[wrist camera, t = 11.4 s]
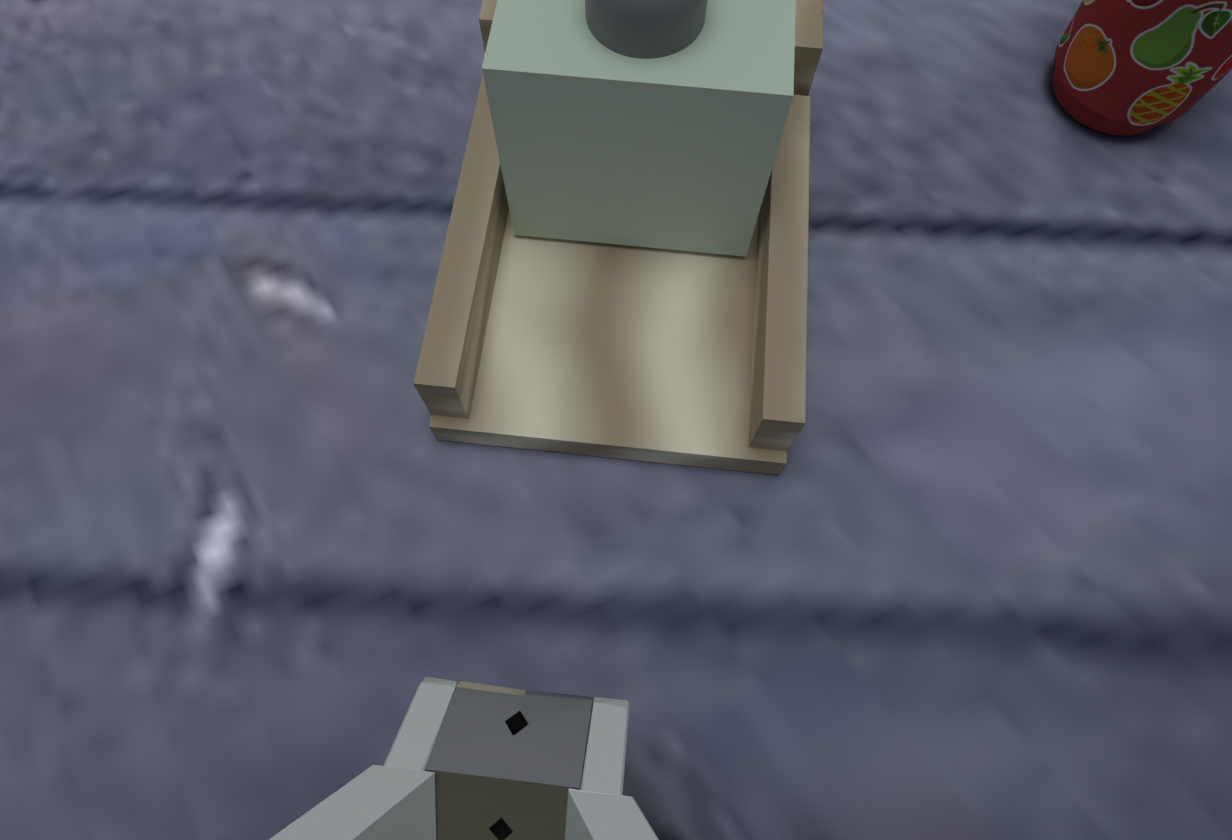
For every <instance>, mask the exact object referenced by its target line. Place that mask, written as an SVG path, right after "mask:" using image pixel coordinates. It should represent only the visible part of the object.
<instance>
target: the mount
mask: <svg viewBox="0 0 1232 840" xmlns="http://www.w3.org/2000/svg"><path fill="white" fill-rule="evenodd" d="M496 3H497V0H483V3H482V7H481V12H480V16H479V23H480V28H481V34H482V39H483V45H484V50H485V52H486V48H487V43H488V39H489V34H490V30H491V26H492V21H493V17H494V12H495V8H496ZM822 49H823V0H796V17H795V55H794V93H793V99H792V102H791V106H790V109H789V113H788V116H787V119H786V123H785V126H784V129H783V133H782V136H781V140H780V143H779V146H778V150H777V153H776V157H775V160H774V163H773V167H772V170H771V174H770V177H769V180H768V184H767V187H766V191H765V194H764V197H763V201H762V204H761V208H760V211H759V214H758V218H757V221H756V225H755V228H754V231H753V235H752V238H751V241H750V245H749V248H748V252H747V255H746V257H745V256H734V255H723V254H713V253H702V252H692V251H681V250H671V249H660V248H650V247H639V246H628V245H618V244H607V243H597V242H586V241H576V240H565V239H554V238H544V237H533V236H523V235H514V231H513V226H512V221H511V216H510V211H509V205H508V200H507V195H506V190H505V185H504V180H503V175H502V169H501V164H500V159H499V154H498V149H497V144H496V139H495V133H494V128H493V123H492V118H491V113H490V108H489V102H488V97H487V92H486V87H485V82H484V77H483V75H482V79H481V84H480V88H479V93H478V97H477V101H476V106H475V110H474V115H473V119H472V124H471V128H470V133H469V137H468V142H467V146H466V151H465V155H464V160H463V164H462V168H461V173H460V177H459V182H458V186H457V191H456V195H455V200H454V204H453V209H452V213H451V218H450V222H449V227H448V231H447V235H446V240H445V244H444V249H443V253H442V258H441V262H440V267H439V271H438V276H437V280H436V285H435V289H434V293H433V298H432V302H431V307H430V311H429V316H428V320H427V325H426V329H425V334H424V338H423V343H422V347H421V352H420V356H419V360H418V365H417V369H416V374H415V378H414V383H413V384H414V385H415V387H416V389H417V391H418V392H419V394H420V396H421V398H422V399H423V401H424V403H425V405H426V406H427V408H428V410H429V411H430V413H431V419H430V424H429V427H430V429H431V431H432V432H433V434H434V436H435V437H436V439H437V440H444V441H454V442H463V443H473V444H483V445H492V446H502V447H512V448H521V449H531V450H541V451H550V452H560V453H570V454H579V455H589V456H599V457H608V458H618V459H628V460H637V461H647V462H657V463H666V464H676V465H686V466H695V467H705V468H715V469H724V470H734V471H744V472H753V473H763V474H773V475H779V474H780V472H781V471H782V469H783V468H784V466H785V465H786V461H787V450H788V449H789V447H790V446H791V444H792V442H793V441H794V439H795V438H796V436H797V435H798V433H799V432H800V430H801V429H802V427H803V426H804V424H805V404H806V340H807V276H808V212H809V148H810V96H808V93H809V90H810V87H811V84H812V81H813V77H814V74H815V71H816V68H817V65H818V62H819V59H820V55H821V52H822Z"/></svg>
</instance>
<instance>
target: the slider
mask: <svg viewBox="0 0 1232 840" xmlns="http://www.w3.org/2000/svg"><path fill="white" fill-rule="evenodd" d="M795 17H796V0H497V3H496V8H495V12H494V17H493V21H492V26H491V30H490V34H489V39H488V43H487V48H486V52H485V57H484V61H483V65H482V72H483V77H484V82H485V87H486V92H487V97H488V102H489V108H490V113H491V118H492V123H493V128H494V133H495V139H496V144H497V149H498V154H499V159H500V164H501V169H502V175H503V180H504V185H505V190H506V195H507V200H508V205H509V211H510V216H511V221H512V226H513V231H514V235H523V236H533V237H544V238H554V239H565V240H576V241H586V242H597V243H607V244H618V245H628V246H639V247H650V248H660V249H671V250H681V251H692V252H702V253H713V254H723V255H734V256H745V257H746V255H747V252H748V248H749V245H750V241H751V238H752V235H753V231H754V228H755V225H756V221H757V218H758V214H759V211H760V208H761V204H762V201H763V197H764V194H765V191H766V187H767V184H768V180H769V177H770V174H771V170H772V167H773V163H774V160H775V157H776V153H777V150H778V146H779V143H780V140H781V136H782V133H783V129H784V126H785V123H786V119H787V116H788V113H789V109H790V106H791V102H792V99H793V93H794V55H795Z"/></svg>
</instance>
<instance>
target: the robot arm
mask: <svg viewBox="0 0 1232 840" xmlns="http://www.w3.org/2000/svg"><path fill="white" fill-rule="evenodd" d="M593 701H594V703H593ZM628 718H629V702H628V700H618V699H608V698H598V697H595V698H594V697H586V696H577V695H568V694H559V693H549V692H540V691H531V690H520V689H513V688H506V687H499V686H492V685H485V684H478V683H471V682H464V681H460V682H458V681H451V680H444V679H438V678H431V677H425V679H424V680H423V681H422V682H421V683H420V684H419V686H418V688H417V691H416V693H415V695H414V697H413V700H412V702H411V704H410V706H409V709H408V711H407V713H406V715H405V718H404V720H403V722H402V724H401V727H400V729H399V731H398V734H397V736H396V738H395V740H394V743H393V745H392V747H391V749H390V752H389V754H388V756H387V758H386V761H385V763H384V765H383V766H379V765H372V766H371V767H369V768H368V769H366V770H365V771H364V772H362V773H361V774H359V775H358V776H357V777H355V778H354V779H352V780H351V781H350V782H348V783H347V784H345V785H344V786H343V787H341V788H340V789H338V790H337V791H336V792H334V793H333V794H332V795H330V796H329V797H327V798H326V799H325V800H323V801H322V802H320V803H319V804H318V805H316V806H315V807H313V808H312V809H311V810H309V811H308V812H306V813H305V814H304V815H302V816H301V817H299V818H298V819H297V820H295V821H294V822H292V823H291V824H290V825H288V826H287V827H286V828H284V829H283V830H281V831H280V832H279V833H277V834H276V835H274V836H273V837H272V838H270V839H269V840H659V839H658V837H657V836H656V834H655V832H654V831H653V829H652V828H651V826H650V824H649V823H648V821H647V819H646V818H645V816H644V814H643V813H642V811H641V809H640V808H639V806H638V805H637V803H636V801H635V800H634V798H633V797H631V796H624V795H622V792H623V780H624V767H625V755H626V743H627V731H628Z"/></svg>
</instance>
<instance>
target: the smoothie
mask: <svg viewBox="0 0 1232 840" xmlns="http://www.w3.org/2000/svg"><path fill="white" fill-rule="evenodd" d="M1054 62H1055V70H1054V75H1053V80H1052V84H1053V89H1054V93H1055V96H1056V98H1057V100H1058V101H1059V103H1060V104H1061V106H1062V107H1063V109H1064V110H1065V111H1066V112H1067V113H1069V114H1070V115H1071V116H1072V117H1073V118H1074V119H1075V120H1076V121H1078V122H1080V123H1082V124H1084V125H1085V126H1087V127H1089V128H1091V129H1093V130H1096V131H1100V132H1103V133H1107V134H1110V135H1128V136H1131V135H1135V134H1139V133H1144V132H1147V131H1149V130H1150V129H1152V128H1153V127H1155V126H1156V125H1159V124H1163V123H1167V122H1172V121H1173V120H1175V119H1176V118H1178V117H1179V116H1181V115H1182V114H1184V113H1185V112H1187V111H1188V110H1189V109H1190V108H1191V107H1192V106H1193V105H1194V104H1195V103H1196V102H1197V101H1198V100H1199V99H1201V98H1202V97H1203V96H1204V95H1205V94H1206V93H1207V92H1208V91H1209V90H1210V89H1211V88H1212V87H1213V86H1214V85H1215V84H1217V83H1218V82H1219V81H1220V80H1221V79H1222V78H1223V77H1224V76H1225V75H1226V74H1227V73H1228V72H1229V71H1230V70H1231V69H1232V0H1083V2H1082V3H1081V5H1080V7H1079V9H1078V10H1077V12H1076V14H1075V16H1074V17H1073V19H1072V21H1071V22H1070V24H1069V26H1068V28H1067V29H1066V31H1065V33H1064V35H1063V36H1062V38H1061V40H1060V42H1059V43H1058V45H1057V48H1056V54H1055V59H1054Z"/></svg>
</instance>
